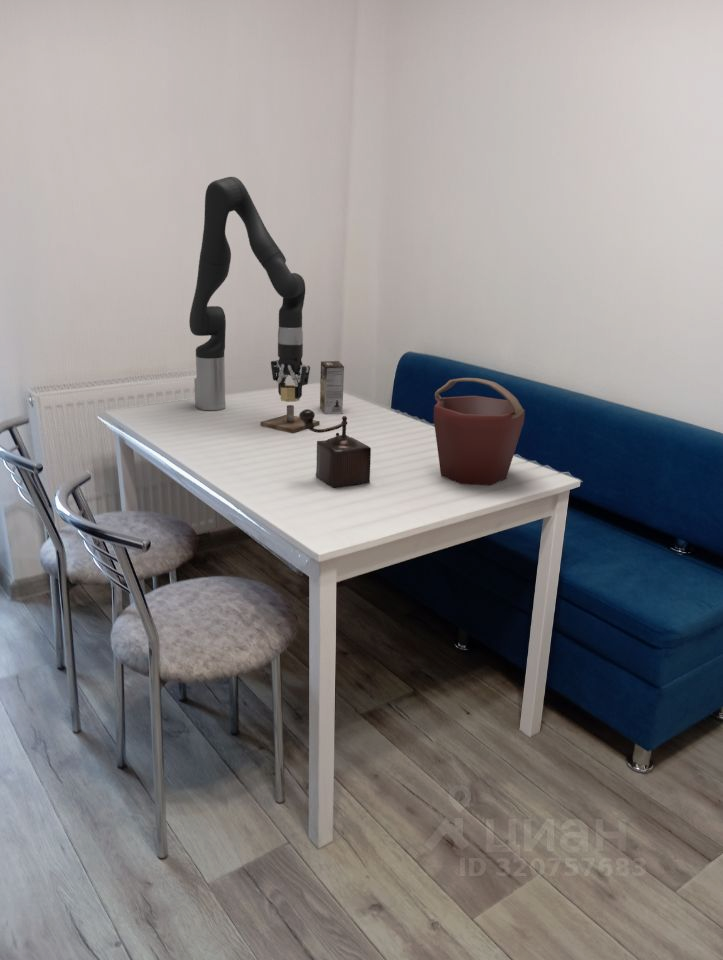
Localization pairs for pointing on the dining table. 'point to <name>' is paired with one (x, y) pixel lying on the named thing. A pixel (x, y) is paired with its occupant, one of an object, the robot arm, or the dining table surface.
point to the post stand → (287, 422)
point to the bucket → (476, 434)
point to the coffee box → (331, 387)
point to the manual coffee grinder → (339, 456)
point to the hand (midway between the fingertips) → (290, 396)
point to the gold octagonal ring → (288, 393)
